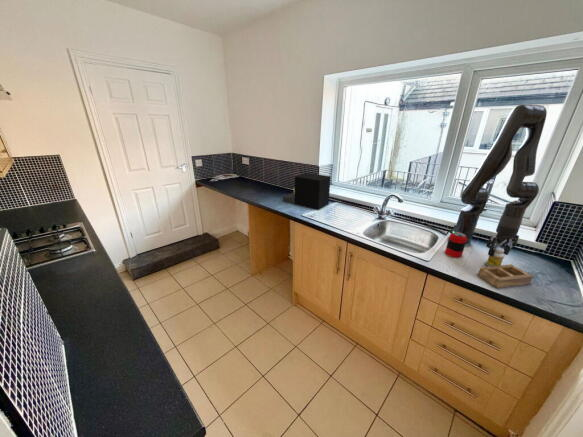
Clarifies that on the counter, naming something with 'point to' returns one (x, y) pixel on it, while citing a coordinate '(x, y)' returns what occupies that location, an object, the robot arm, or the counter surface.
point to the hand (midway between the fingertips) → (497, 254)
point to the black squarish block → (310, 191)
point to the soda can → (456, 244)
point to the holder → (505, 276)
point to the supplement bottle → (496, 258)
